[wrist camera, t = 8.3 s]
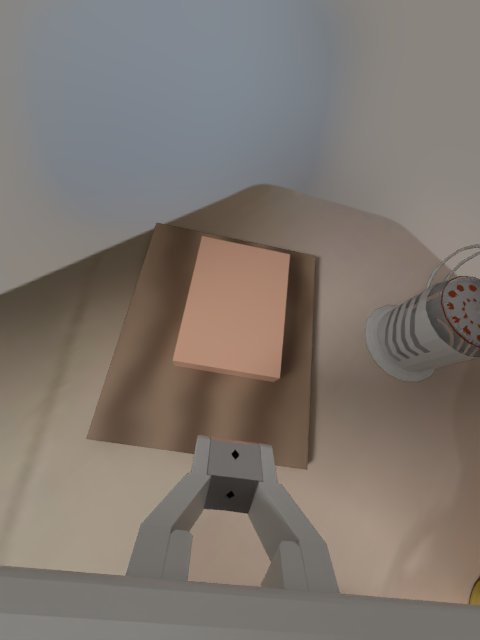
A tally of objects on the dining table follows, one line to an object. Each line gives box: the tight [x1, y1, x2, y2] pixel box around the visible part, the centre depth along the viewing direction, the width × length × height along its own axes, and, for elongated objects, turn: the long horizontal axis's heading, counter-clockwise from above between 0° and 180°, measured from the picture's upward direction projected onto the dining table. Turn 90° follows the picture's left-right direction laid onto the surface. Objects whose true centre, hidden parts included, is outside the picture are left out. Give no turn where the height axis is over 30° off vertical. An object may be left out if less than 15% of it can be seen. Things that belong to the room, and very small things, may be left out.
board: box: [86, 223, 315, 470], centre depth 29 cm, size 20×24×1 cm
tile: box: [173, 236, 290, 382], centre depth 28 cm, size 10×3×14 cm
